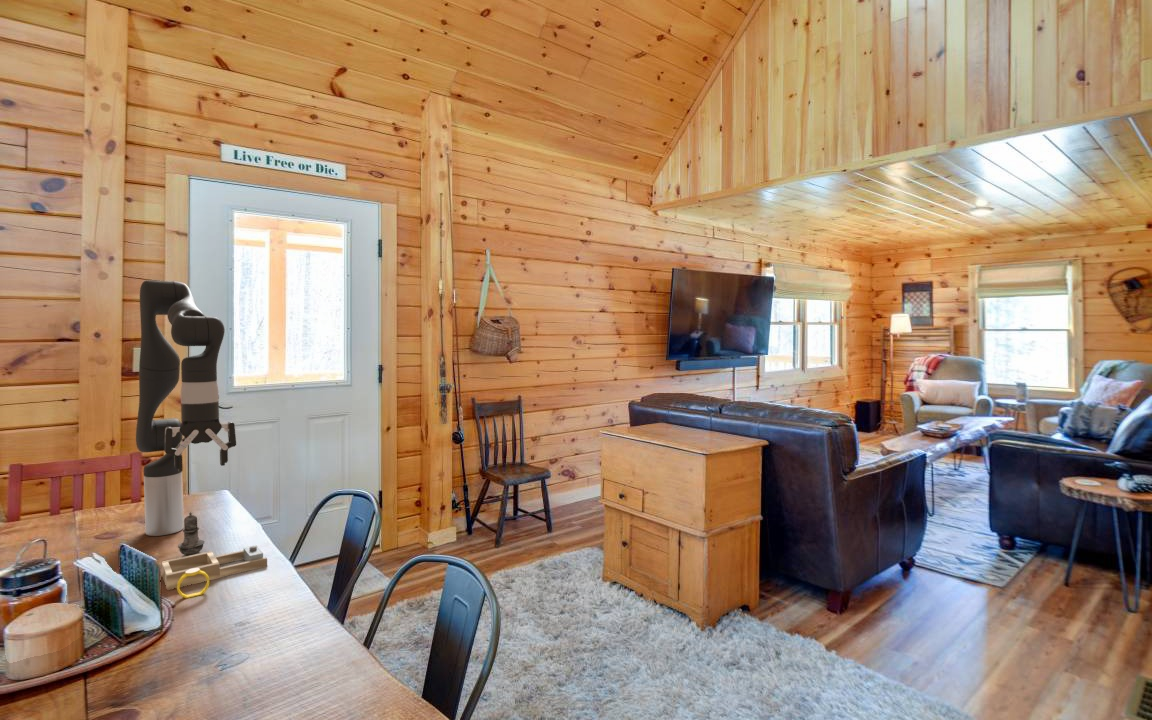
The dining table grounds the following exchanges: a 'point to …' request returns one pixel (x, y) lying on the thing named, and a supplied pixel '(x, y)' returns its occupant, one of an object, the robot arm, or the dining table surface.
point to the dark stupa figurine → (191, 537)
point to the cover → (252, 553)
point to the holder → (205, 567)
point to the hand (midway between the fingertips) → (201, 467)
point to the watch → (191, 573)
